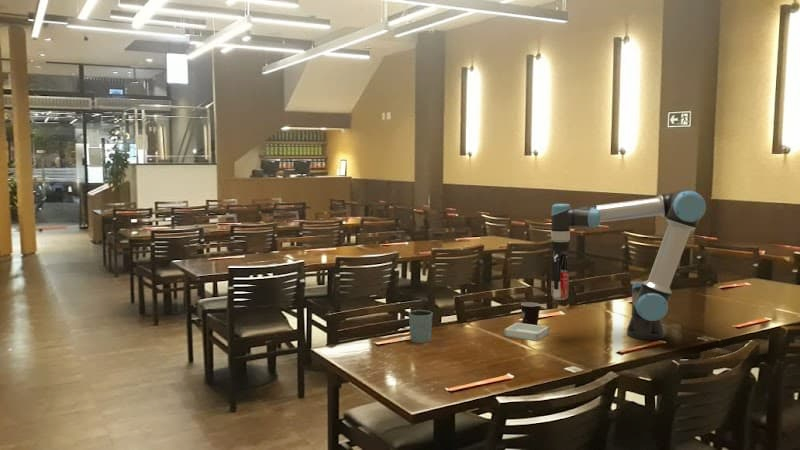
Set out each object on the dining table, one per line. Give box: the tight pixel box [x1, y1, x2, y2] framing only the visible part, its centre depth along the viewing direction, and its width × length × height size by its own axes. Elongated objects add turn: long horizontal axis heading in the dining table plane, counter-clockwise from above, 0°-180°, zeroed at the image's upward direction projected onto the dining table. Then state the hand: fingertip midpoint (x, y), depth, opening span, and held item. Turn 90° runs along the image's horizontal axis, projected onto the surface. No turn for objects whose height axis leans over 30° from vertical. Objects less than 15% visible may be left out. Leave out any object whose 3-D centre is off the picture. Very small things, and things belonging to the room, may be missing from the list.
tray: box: [503, 322, 550, 342], centre depth 281 cm, size 15×14×3 cm
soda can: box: [550, 270, 570, 301], centre depth 272 cm, size 7×7×12 cm
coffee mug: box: [520, 302, 541, 325], centre depth 298 cm, size 12×9×10 cm
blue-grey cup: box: [408, 309, 434, 344], centre depth 273 cm, size 10×10×12 cm
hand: (559, 294), depth 273 cm, fingers closed on soda can, 7 cm apart
